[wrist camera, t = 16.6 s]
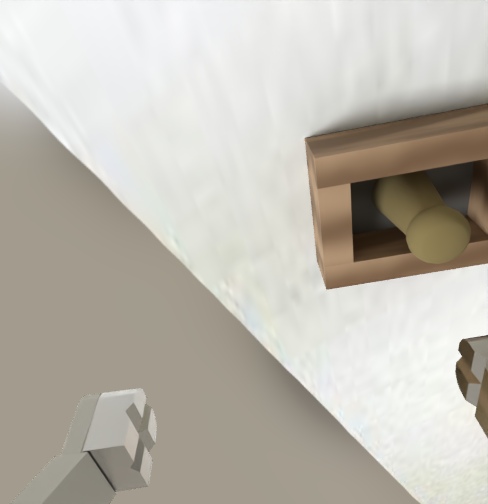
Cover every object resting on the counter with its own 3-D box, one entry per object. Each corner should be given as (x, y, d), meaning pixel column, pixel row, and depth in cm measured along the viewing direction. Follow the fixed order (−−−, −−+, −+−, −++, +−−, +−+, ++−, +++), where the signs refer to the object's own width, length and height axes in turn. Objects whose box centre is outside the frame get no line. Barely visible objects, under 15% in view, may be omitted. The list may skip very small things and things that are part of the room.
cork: (388, 157, 42) (434, 206, 33) (440, 172, 43) (498, 224, 34) (362, 208, 45) (397, 266, 36) (411, 221, 46) (457, 280, 37)
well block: (304, 138, 41) (314, 158, 36) (512, 99, 40) (549, 115, 35) (317, 260, 49) (326, 289, 45) (489, 231, 48) (517, 258, 43)
